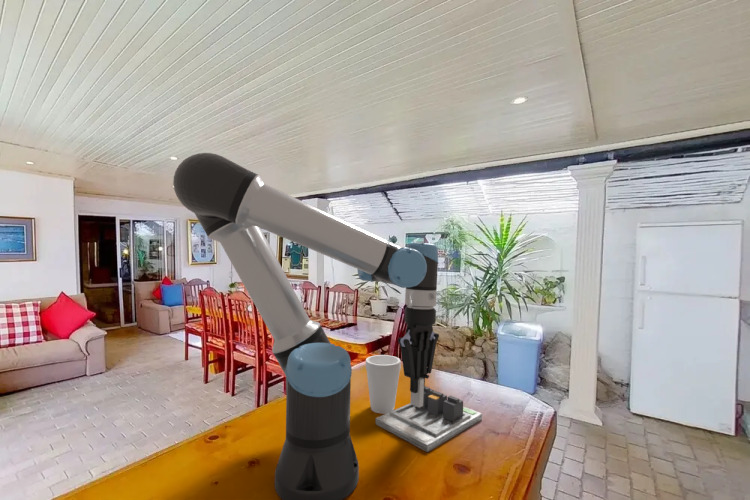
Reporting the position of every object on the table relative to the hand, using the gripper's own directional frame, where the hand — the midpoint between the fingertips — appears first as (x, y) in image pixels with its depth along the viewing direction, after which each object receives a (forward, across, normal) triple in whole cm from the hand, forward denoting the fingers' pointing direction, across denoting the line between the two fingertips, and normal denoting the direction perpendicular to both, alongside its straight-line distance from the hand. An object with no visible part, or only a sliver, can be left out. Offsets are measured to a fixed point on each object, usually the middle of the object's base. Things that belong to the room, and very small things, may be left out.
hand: (416, 404), depth 83 cm
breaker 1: (+4, +8, +4) cm, 10 cm away
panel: (+5, +5, 0) cm, 7 cm away
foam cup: (+6, +1, +13) cm, 14 cm away
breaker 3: (+4, +8, -5) cm, 10 cm away
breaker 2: (+4, +8, 0) cm, 8 cm away
